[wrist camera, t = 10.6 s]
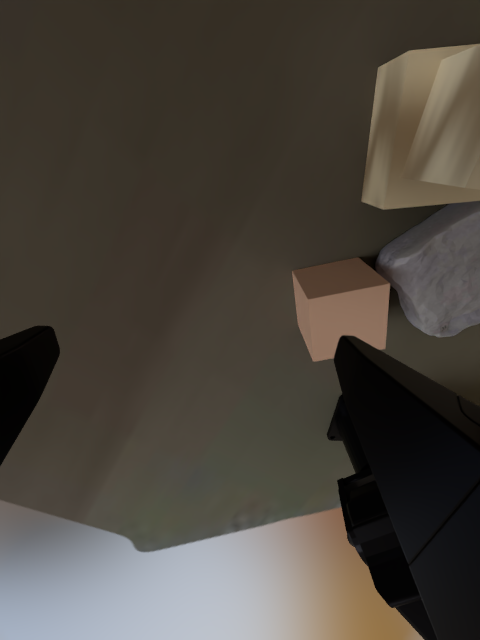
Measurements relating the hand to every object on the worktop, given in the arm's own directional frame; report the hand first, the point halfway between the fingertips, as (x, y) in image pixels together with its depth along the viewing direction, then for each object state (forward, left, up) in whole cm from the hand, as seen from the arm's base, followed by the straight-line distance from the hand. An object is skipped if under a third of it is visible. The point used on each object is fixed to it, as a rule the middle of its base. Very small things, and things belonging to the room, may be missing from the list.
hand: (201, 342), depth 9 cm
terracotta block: (-4, -9, -13) cm, 16 cm away
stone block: (-1, -19, -14) cm, 23 cm away
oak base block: (+7, -13, -13) cm, 20 cm away
